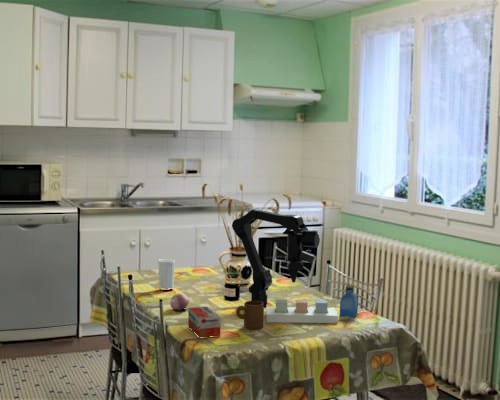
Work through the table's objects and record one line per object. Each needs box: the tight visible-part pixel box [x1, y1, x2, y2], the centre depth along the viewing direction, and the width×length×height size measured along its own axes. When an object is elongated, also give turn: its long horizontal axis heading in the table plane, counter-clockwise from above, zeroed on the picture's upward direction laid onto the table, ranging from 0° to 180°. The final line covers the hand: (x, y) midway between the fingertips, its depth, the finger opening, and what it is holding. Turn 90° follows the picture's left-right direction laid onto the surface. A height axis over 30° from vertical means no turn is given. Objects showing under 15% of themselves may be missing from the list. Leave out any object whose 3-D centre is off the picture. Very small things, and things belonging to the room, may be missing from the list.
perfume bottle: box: [339, 285, 359, 319], centre depth 271 cm, size 6×6×12 cm
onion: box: [169, 293, 190, 311], centre depth 276 cm, size 8×8×7 cm
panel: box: [265, 306, 339, 324], centre depth 266 cm, size 28×12×3 cm, turn 90°
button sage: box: [275, 299, 288, 312], centre depth 265 cm, size 4×4×4 cm
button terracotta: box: [295, 299, 308, 313], centre depth 265 cm, size 4×4×4 cm
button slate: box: [314, 299, 329, 313], centre depth 265 cm, size 4×4×4 cm
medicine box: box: [187, 305, 221, 338], centre depth 245 cm, size 15×8×8 cm, turn 22°
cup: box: [157, 258, 176, 289], centre depth 310 cm, size 8×8×14 cm
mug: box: [235, 300, 265, 330], centre depth 251 cm, size 12×8×9 cm, turn 127°
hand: (293, 282), depth 276 cm, fingers closed
